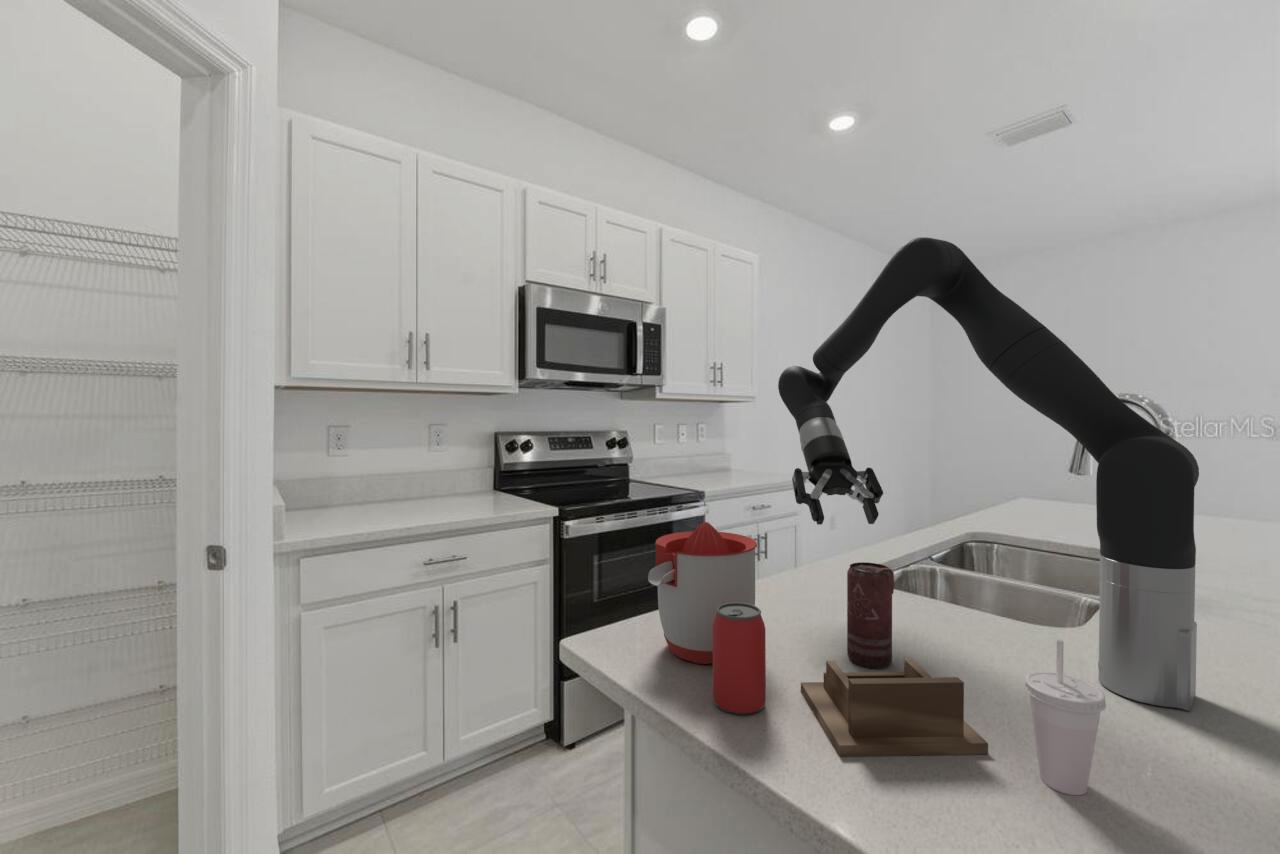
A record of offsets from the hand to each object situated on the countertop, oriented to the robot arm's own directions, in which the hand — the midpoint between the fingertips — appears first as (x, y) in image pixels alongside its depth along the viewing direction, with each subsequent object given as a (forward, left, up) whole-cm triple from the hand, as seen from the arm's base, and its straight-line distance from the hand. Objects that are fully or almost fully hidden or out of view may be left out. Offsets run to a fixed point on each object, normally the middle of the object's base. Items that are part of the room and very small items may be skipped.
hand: (847, 521), depth 92 cm
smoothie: (-33, +18, -19) cm, 42 cm away
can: (-7, +6, -19) cm, 21 cm away
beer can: (-2, +30, -19) cm, 36 cm away
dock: (-16, +20, -19) cm, 32 cm away
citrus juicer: (+12, +22, -19) cm, 31 cm away
